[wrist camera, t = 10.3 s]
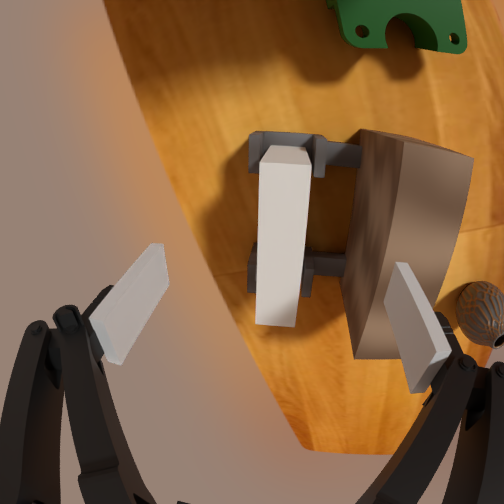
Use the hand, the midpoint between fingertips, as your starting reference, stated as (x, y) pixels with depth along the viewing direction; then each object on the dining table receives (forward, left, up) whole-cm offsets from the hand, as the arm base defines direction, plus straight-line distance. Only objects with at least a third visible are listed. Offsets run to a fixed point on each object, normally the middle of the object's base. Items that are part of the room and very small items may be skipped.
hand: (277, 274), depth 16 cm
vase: (+9, +25, -13) cm, 30 cm away
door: (+1, 0, -12) cm, 12 cm away
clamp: (-19, +9, -13) cm, 25 cm away
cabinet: (0, +4, -13) cm, 14 cm away
